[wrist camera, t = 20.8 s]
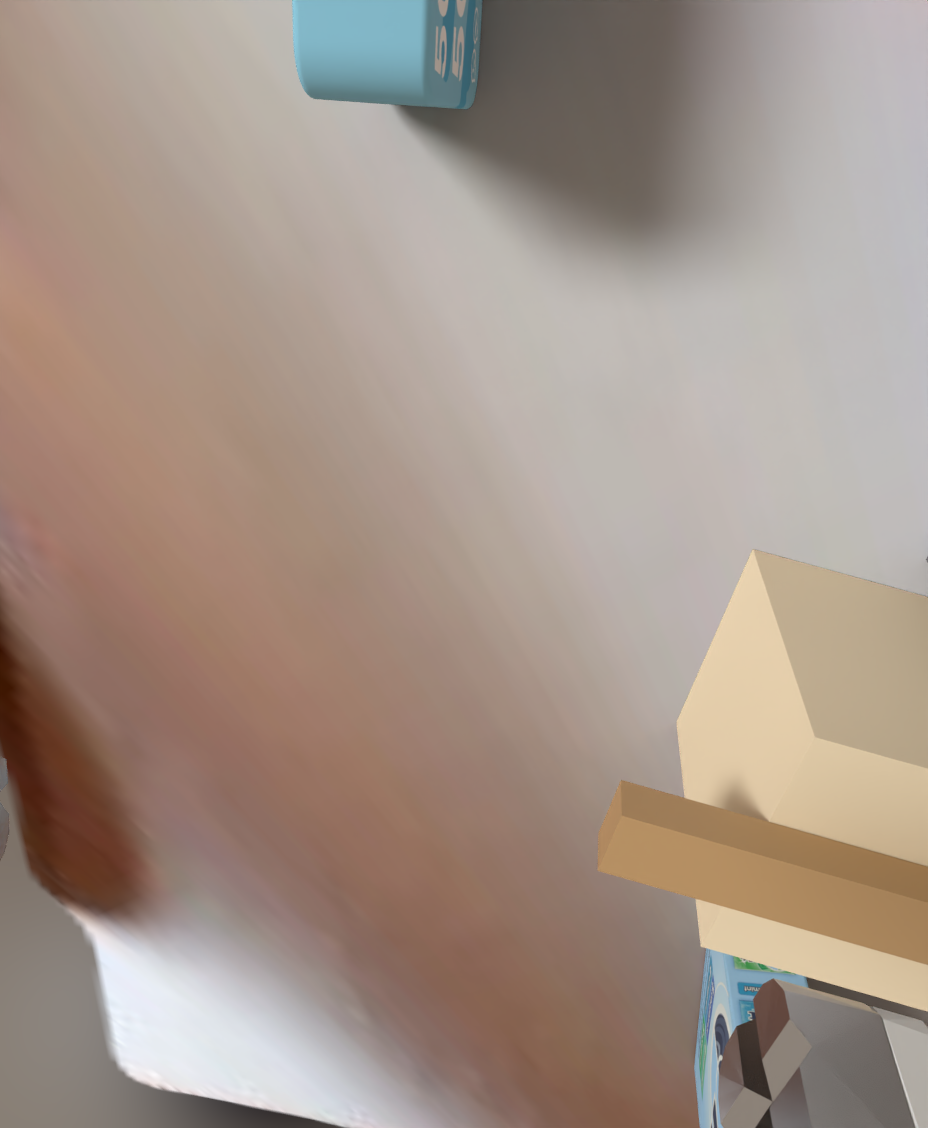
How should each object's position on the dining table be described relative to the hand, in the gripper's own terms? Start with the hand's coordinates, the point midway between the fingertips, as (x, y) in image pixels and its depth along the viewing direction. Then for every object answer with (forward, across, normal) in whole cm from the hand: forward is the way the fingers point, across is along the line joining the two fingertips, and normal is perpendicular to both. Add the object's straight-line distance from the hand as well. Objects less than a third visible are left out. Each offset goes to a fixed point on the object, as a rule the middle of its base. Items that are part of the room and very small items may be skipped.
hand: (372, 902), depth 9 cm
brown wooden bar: (+21, -18, +16) cm, 32 cm away
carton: (+37, -22, +16) cm, 46 cm away
